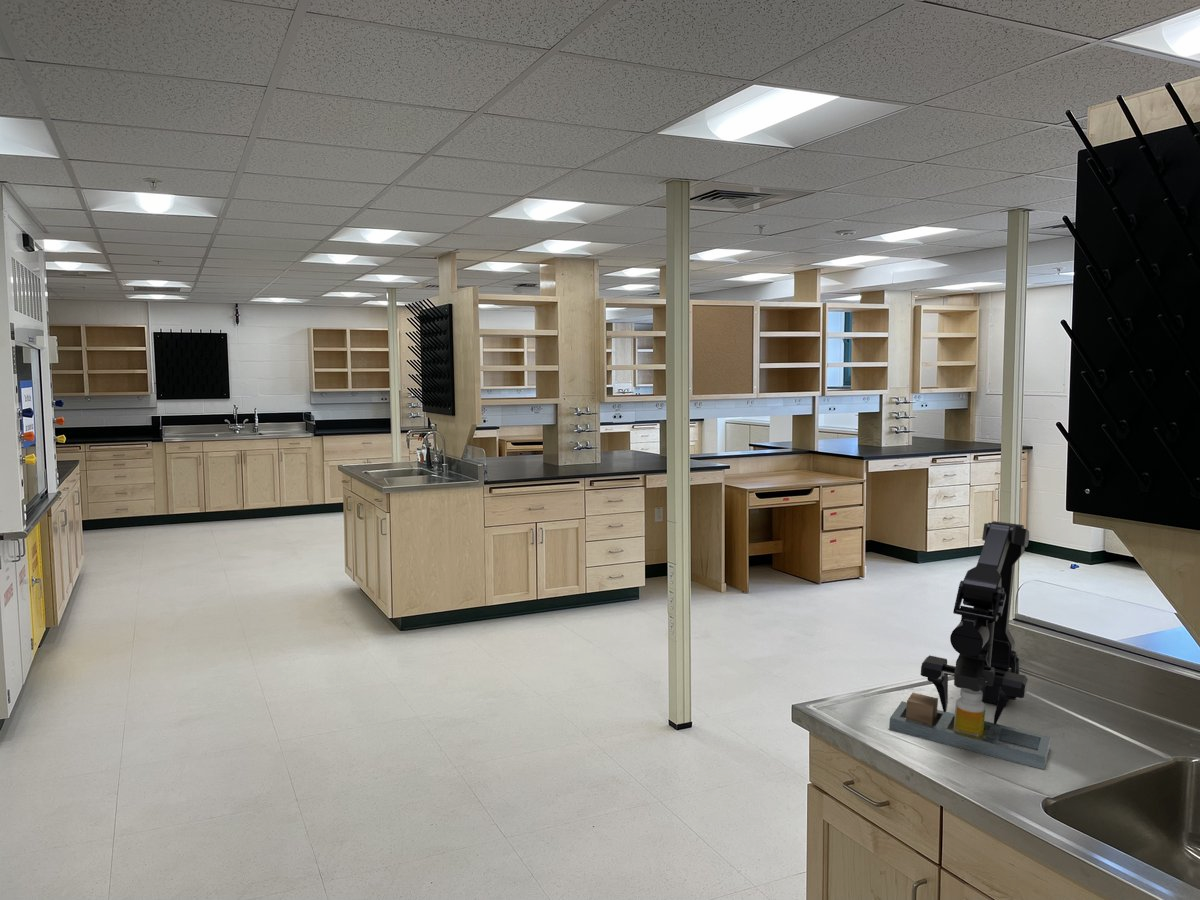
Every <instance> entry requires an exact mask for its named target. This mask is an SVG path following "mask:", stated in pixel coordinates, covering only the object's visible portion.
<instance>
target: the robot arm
mask: <svg viewBox="0 0 1200 900" xmlns="http://www.w3.org/2000/svg"><path fill="white" fill-rule="evenodd" d="M981 539H982V541H984V543H983V546H982V547H981V548H982V549H981V552H980V555H979V558H978V561H977V564H976V566H974V567H972V568H971V569H968V570H967V571H966V573H965V576H964V578H963V580H960V582H959V585H958V588H957V594H956V598H955V603H954V607H953V614H954V615H960V616H961V617H960V621H959V623H958V624H957V626H956V627H954V629H953V630H952V632H951V633H950V640H949V641H950V644H951V646H952V648H953V649H954V651H956V652H957V653H958V654H959V655H958V656H957V659H956V661H955V665H949V664H948V659H947V658H944V657H939V656H935V655H930V654H929V655H928V656H927V657H926V658H925V659H923V662H921V666H920V676H922V677H924V678H925V677H926V679H927V681H928V682H930V683H932V684H933V685H934V687H935V689H936V691H937V693H938V696H939V699H940V704H941V708H942V711H944V712H948V711H947V710H948V699H949V698H948V697H949V695H948V694H949V690H948V689H949V676H952V677H954V678H953V679H954V680H953V685H954V686H955V687H956V688H958V689H961V688H966V689H970V690H972V691H980V690H981V691H982V692H983V698H982V700H981V701H982V702H984V703H985V702H986V703H989V704H996V708H995V712H994V715H993V723H994V724H998V720H999V718H1000V716H1001V714H1002V712H1003V710H1004V709H1005V707H1006V705H1007V706H1008V703H1009V702H1010V700H1012V701H1016V700H1017V699H1023V698H1025V695H1026V693H1027V690H1028V682H1029V680H1028V679H1029V678H1027V676H1026V674H1021V673H1020V668H1021V667H1020V658H1019V657H1018V652H1017V651H1015V650H1016V648H1015V646H1016V641H1015V639H1014V637H1013V635H1012V633H1011V631H1010V630H1009V626H1010V615H1011V606H1012V595H1013V587H1014V577H1015V565H1016V563H1017V562H1018V561H1019V559H1020V558H1021V557H1022V556H1023V555H1024V554H1025V548H1027V547H1028V546H1029V541H1030V530H1028V529H1027V528H1025V525H1023V524H1017V523H1010V522H1003V521H995V520H993V521H992V522H987V523H983V531H982V537H981Z"/></svg>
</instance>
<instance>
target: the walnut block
mask: <svg viewBox="0 0 1200 900" xmlns="http://www.w3.org/2000/svg"><path fill="white" fill-rule="evenodd" d="M906 702H907V708H906V719H909V720H913V721H917V722H921V723H925V724H929V725H933V726H936V725H937V724H936V718H937V710H938V704H939V698H938V697H933V696H930V695H924V694H921V693H916V692H912V693H910V696H909V697H908V698H907V700H906Z"/></svg>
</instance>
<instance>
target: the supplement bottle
mask: <svg viewBox="0 0 1200 900" xmlns="http://www.w3.org/2000/svg"><path fill="white" fill-rule="evenodd" d="M959 696H960V697H958V698H957V699H956V701H955V708H954V709H955V710H954V714H955V718H954V730H953V731H957V732H961V733H965V734H969V735H973V736H977V737H981V738H983V730H984V721H985V716H986V704H985V702H984V701H981V700H982V698H983V692H982V691H981V690H980V691H972V690H970V689H966V688H960V695H959Z"/></svg>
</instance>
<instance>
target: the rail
mask: <svg viewBox="0 0 1200 900" xmlns="http://www.w3.org/2000/svg"><path fill="white" fill-rule="evenodd" d="M906 708H907V701H904V700H903V701H902V700H901V701H900V703H899V704H898V706H897V707H896V708H895V710H894V712H893V713H892V715H891V716H890V717H889V728H888V730H889V731H892V732H898V733H901V734H904V733H905V734H904V735H908V734H909V735H908V736H912V737H916V738H921V739H924V740H928V741H932V742H936V743H939V744H943V745H947V746H950V747H954V748H958V749H963V750H967V751H970V752H974V753H978V754H982V755H987V756H989V757H993V758H998V759H1000V760H1001V759H1002V760H1005V761H1009V762H1014V763H1016V764H1022V765H1025V766H1028V767H1032V768H1035V769H1040V770H1045V767H1046V765H1047V760H1048V756H1049V751H1050V748H1051V747H1050V745H1051V738H1052V737H1051V736H1049V735H1045V734H1039V733H1036V732H1032V731H1028V730H1023V729H1019V728H1015V727H1010V726H1006V725H1003V724H1000V723H999V724H998V723H996V724H994V722H990V721H986V720H984V730H983V738H981V737H977V736H973V735H969V734H965V733H961V732H957V731H953V730H954V718H955V713H952V712H948V711H946V712H944V711H943V710H940V709H937V718H936V726H933V725H929V724H925V723H921V722H917V721H913V720H909V719H905V718H906ZM1001 741H1003V742H1001ZM1005 742H1006V743H1005ZM1008 743H1009V744H1008ZM1010 743H1011V744H1010ZM1012 744H1013V745H1012ZM1014 744H1016V745H1014ZM1017 745H1020V746H1023V747H1020V746H1017ZM1024 747H1027V748H1024ZM1029 748H1031V749H1029ZM1032 749H1035V750H1032Z"/></svg>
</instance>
